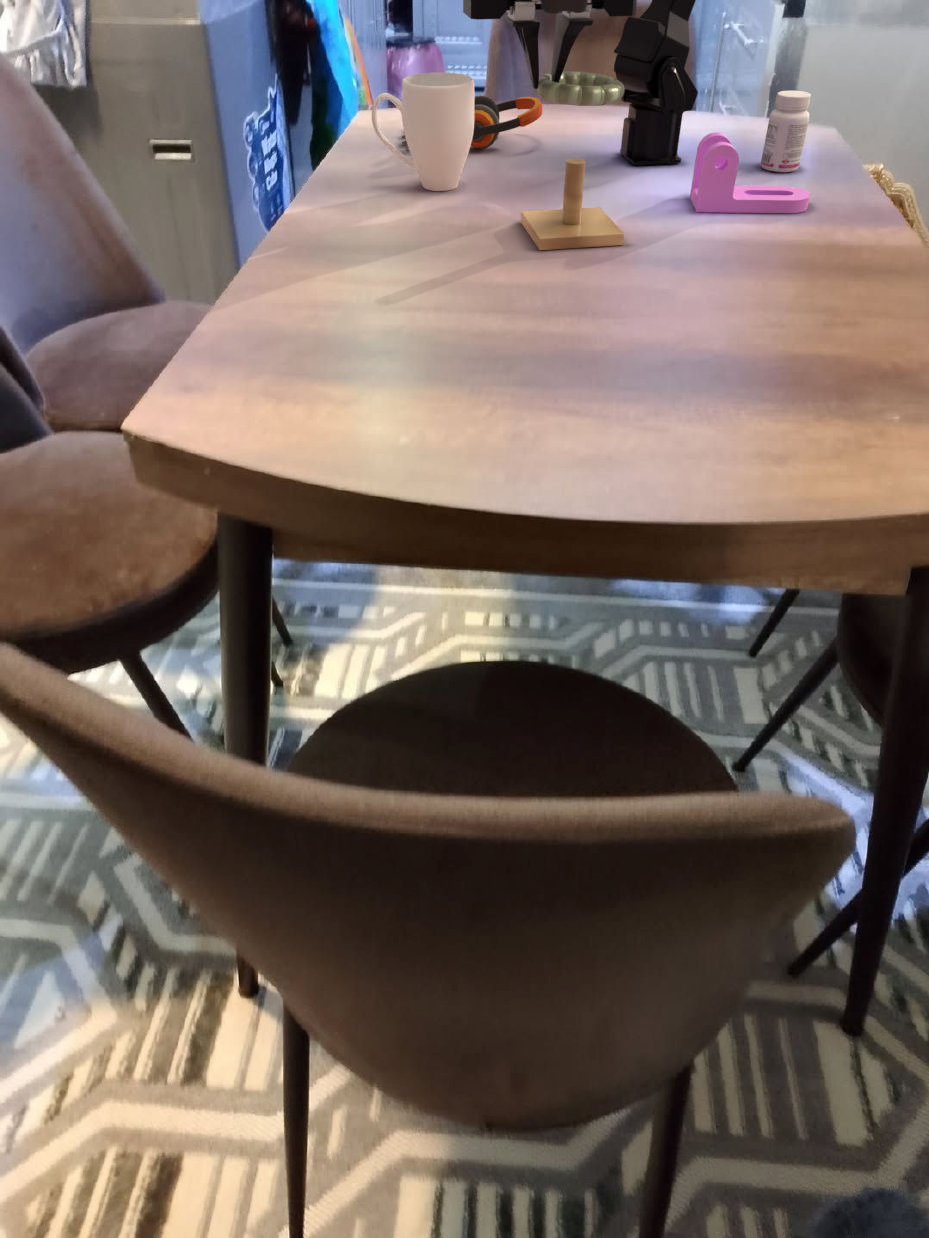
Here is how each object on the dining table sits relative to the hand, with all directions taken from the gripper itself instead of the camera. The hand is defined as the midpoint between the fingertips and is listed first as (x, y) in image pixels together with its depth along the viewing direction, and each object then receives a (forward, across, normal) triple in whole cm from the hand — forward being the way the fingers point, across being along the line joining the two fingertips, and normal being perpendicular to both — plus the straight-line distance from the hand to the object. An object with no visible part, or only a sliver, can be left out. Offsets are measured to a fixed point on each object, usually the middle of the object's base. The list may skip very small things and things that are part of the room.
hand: (544, 88), depth 107 cm
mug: (+10, -15, -1) cm, 18 cm away
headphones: (+10, -6, +18) cm, 22 cm away
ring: (0, +4, 0) cm, 4 cm away
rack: (+10, -2, -21) cm, 23 cm away
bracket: (+10, +21, -15) cm, 28 cm away
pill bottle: (+10, +31, -1) cm, 33 cm away
